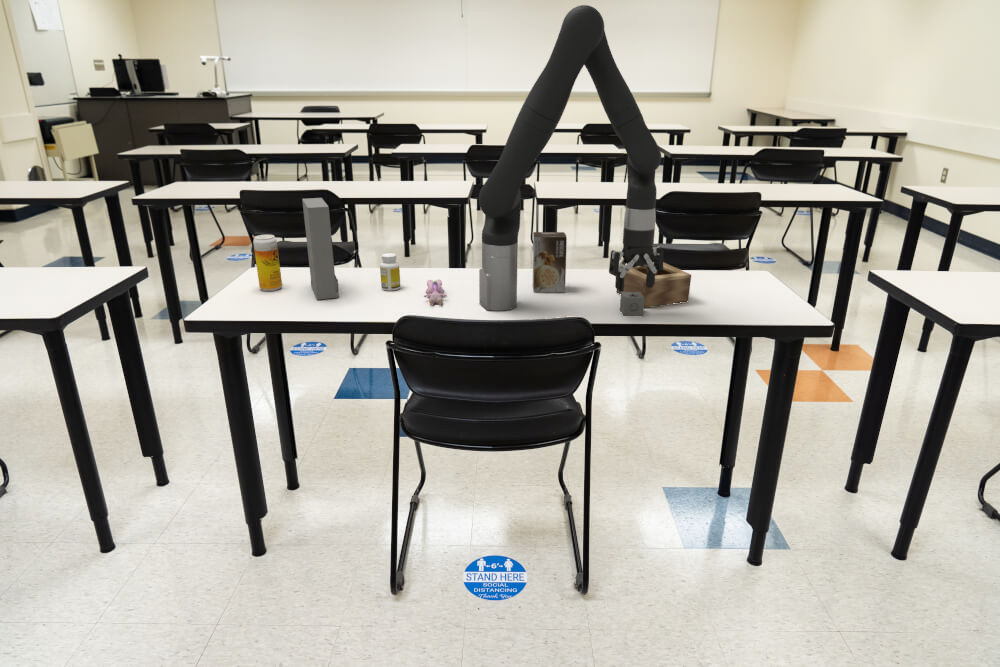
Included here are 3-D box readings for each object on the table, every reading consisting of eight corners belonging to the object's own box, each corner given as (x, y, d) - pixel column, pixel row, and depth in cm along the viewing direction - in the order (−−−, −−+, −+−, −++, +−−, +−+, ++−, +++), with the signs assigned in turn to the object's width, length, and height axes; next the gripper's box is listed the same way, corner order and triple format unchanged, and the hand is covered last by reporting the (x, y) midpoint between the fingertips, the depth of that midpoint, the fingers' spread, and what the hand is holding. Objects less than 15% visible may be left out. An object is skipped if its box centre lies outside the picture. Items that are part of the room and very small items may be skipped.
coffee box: (563, 286, 187) (565, 231, 181) (565, 293, 181) (567, 237, 175) (531, 285, 187) (533, 231, 181) (532, 292, 181) (534, 236, 175)
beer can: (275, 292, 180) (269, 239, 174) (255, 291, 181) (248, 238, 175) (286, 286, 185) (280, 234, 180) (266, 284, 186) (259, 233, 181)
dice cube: (623, 316, 164) (624, 298, 162) (619, 310, 169) (621, 291, 167) (642, 316, 164) (644, 298, 162) (638, 310, 169) (640, 291, 167)
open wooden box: (643, 308, 170) (646, 280, 167) (616, 292, 182) (618, 265, 179) (688, 302, 175) (691, 274, 172) (658, 287, 187) (661, 261, 184)
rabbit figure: (448, 311, 171) (445, 285, 184) (447, 291, 168) (444, 266, 181) (424, 312, 170) (423, 286, 183) (423, 292, 167) (422, 267, 180)
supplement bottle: (402, 285, 187) (400, 252, 183) (398, 291, 182) (397, 257, 178) (383, 285, 187) (381, 252, 183) (379, 291, 182) (377, 257, 178)
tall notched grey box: (340, 298, 176) (331, 206, 166) (317, 300, 174) (307, 208, 164) (332, 283, 188) (324, 197, 178) (311, 286, 186) (301, 198, 176)
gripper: (621, 231, 152) (617, 296, 158) (672, 226, 157) (667, 289, 163) (606, 225, 159) (602, 288, 165) (655, 220, 163) (650, 281, 169)
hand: (634, 288), depth 164 cm, fingers open, 8 cm apart
